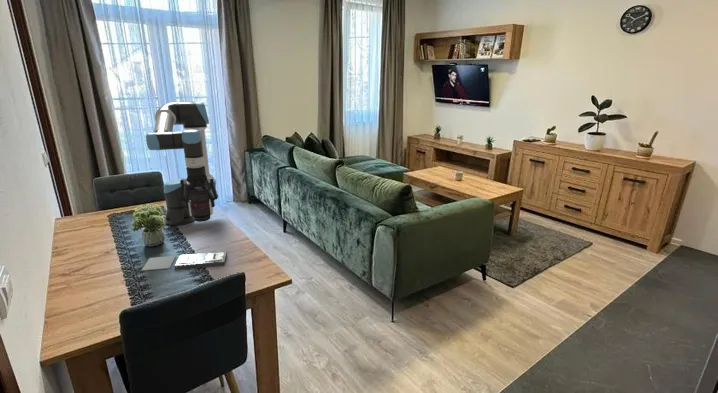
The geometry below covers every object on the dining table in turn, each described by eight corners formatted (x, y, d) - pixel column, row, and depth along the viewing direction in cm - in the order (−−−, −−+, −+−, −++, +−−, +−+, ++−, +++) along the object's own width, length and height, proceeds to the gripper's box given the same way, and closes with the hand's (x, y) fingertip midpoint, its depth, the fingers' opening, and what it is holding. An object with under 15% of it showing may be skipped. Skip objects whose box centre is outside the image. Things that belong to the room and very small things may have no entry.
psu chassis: (180, 258, 167) (179, 254, 166) (227, 255, 171) (226, 250, 170) (174, 269, 158) (174, 264, 157) (224, 265, 162) (223, 260, 161)
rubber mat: (149, 258, 167) (149, 257, 167) (176, 256, 169) (176, 255, 169) (141, 271, 157) (141, 270, 157) (169, 268, 159) (169, 267, 159)
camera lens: (205, 223, 165) (201, 191, 160) (189, 221, 167) (184, 190, 162) (215, 216, 173) (212, 186, 168) (200, 214, 174) (196, 184, 169)
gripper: (167, 169, 156) (175, 218, 164) (219, 167, 160) (224, 216, 168) (171, 164, 163) (179, 212, 170) (221, 163, 167) (226, 210, 175)
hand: (201, 214), depth 169 cm, fingers closed on camera lens, 8 cm apart
